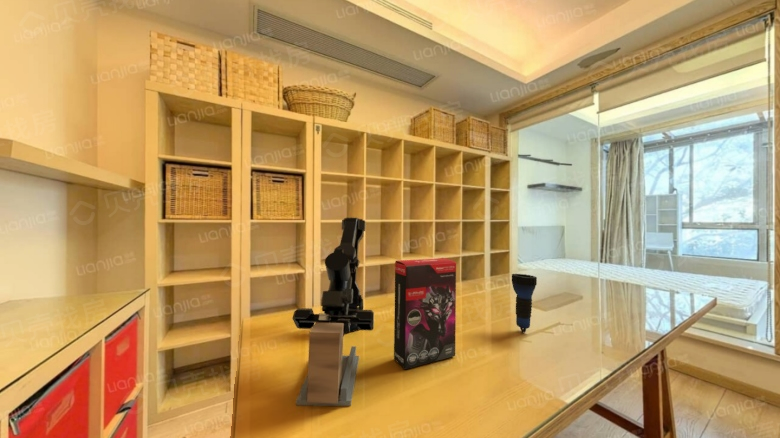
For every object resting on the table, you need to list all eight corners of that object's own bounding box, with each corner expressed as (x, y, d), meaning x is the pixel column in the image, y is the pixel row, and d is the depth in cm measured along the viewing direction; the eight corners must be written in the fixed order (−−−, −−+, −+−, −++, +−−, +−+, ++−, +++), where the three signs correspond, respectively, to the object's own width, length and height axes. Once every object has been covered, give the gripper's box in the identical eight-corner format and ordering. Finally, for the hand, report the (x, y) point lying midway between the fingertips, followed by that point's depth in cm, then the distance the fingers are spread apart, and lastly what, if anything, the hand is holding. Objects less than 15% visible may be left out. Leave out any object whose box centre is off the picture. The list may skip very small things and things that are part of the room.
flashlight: (522, 326, 99) (524, 272, 99) (540, 335, 92) (542, 277, 92) (505, 328, 97) (506, 273, 97) (522, 337, 89) (524, 278, 89)
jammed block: (313, 387, 58) (315, 322, 58) (341, 387, 58) (343, 323, 58) (307, 402, 53) (309, 332, 53) (337, 403, 53) (339, 332, 53)
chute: (318, 358, 72) (318, 345, 72) (358, 359, 72) (359, 346, 72) (296, 405, 54) (296, 387, 54) (350, 406, 54) (351, 388, 54)
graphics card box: (403, 372, 67) (407, 263, 67) (390, 358, 73) (394, 259, 73) (456, 357, 75) (459, 261, 75) (440, 347, 81) (443, 257, 81)
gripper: (296, 274, 63) (276, 342, 52) (374, 276, 64) (371, 344, 53) (305, 297, 71) (289, 361, 60) (375, 299, 71) (371, 362, 60)
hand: (328, 357), depth 58 cm, fingers closed, pressing on jammed block
